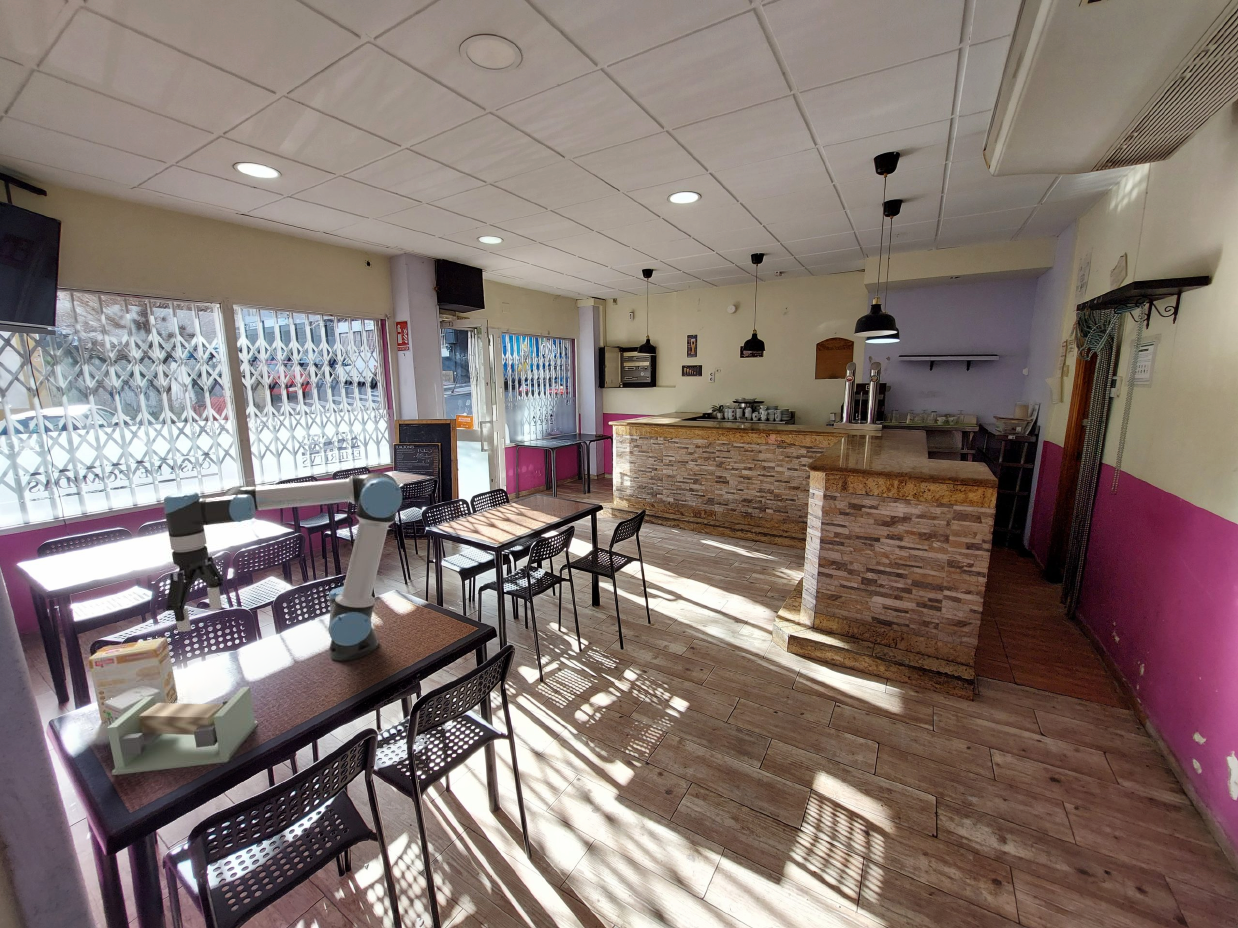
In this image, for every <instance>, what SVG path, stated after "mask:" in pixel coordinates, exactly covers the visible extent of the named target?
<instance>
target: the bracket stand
mask: <svg viewBox="0 0 1238 928" xmlns="http://www.w3.org/2000/svg"><path fill="white" fill-rule="evenodd" d="M222 704H223V705H224V706H223V707H222V709H221V710H220V711H219V712H218V713H217V714H216V715H215V716H214V723H215V725H213V726H204V727H197V728H196V729H195V730H194V735H181V734H148V733H142V729H141V724H140V718H139V715H141V714H142V713H144V712H145V711H147V710H148V709H150V708H151V707H153V706H154V705H156V704H155V699H154V696H149V697H145V698H143V699H142V700H141V701H140V702H138V703H137V704H136V705H135V706H133V707H132V708H131V709H130V710H128V711H127V712H126V713H125V714H124V715H122V716H121V717H120V718H119V719H117V720H116V721H115V722H114V723H112V724H111V725H110V726H108V727H106V730H107V735H108V739H109V745H110V750H111V753H112V758H113V764H114V769H113V770H112V771H111V775H112V776H116V775H117V776H118V775H126V774H127V775H128V774H135V773H142V772H150V771H151V772H152V771H159V770H160V771H161V770H168V769H177V768H186V767H194V766H196V767H197V766H202V765H212V764H221V763H228V761H230V759H231V758H232V756H234V754H235V753H236V751H238V749H239V748H240V747H241V746H242V744H243V743H244V742H245V741H246V740H247V738H248V737H249V736H250V734H251V733H252V732H253V731H254V729H255V728H256V727H257V726H258V724H259V723H258V721H257V720H256V719H255V713H254V704H253V700H252V693H251V686H245V687H244V686H243V687H240V688H239V690H238V691H237V692H236V693H235V694H234V695H233V696H232V697H227V698H225V699H224V700H223V701H222Z"/></svg>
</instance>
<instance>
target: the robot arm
mask: <svg viewBox="0 0 1238 928" xmlns="http://www.w3.org/2000/svg"><path fill="white" fill-rule="evenodd" d="M346 502H349V503H352V504H353V505H356V504H357V507H356V512H355V517H356V519H357V520H358V521H359V522H358V525H357V530H356V534H355V538H354V543H353V546H352V551H351V555H350V558H349V559H350V560H349V563H348V568H347V572H346V577H345V580H344V584H343V585H342V586H340V587H337V588H334V589H332V590H330V592H329V593H328V601H329V622H328V625H329V626H328V629H327V631H328V634H329V637H330V639H331V640H330V644H329V648H328V649H329V650H328V653H329V657H330V659H332V660H334V661H339V662H342V661H343V662H345V661H353V660H357V659H361V658H363V657H366V656H367V655H369V654H371V653H372V652H374V651H375V650H376V649H377V648H378V646H379V639H378V636H377V634H376V632H375V630H374V628H373V626H372V616H373V612H374V608H375V604H376V600H375V598H374V597H373V596H372V594H373V590H374V587H375V584H376V583H375V582H376V578H377V574H378V569H379V565H380V562H381V558H382V553H383V549H384V545H385V541H386V537H387V533H388V529H389V526H390V525H391V524H393V523H395V521H396V517H397V513H398V510H399V509H400V507H401V505H402V503H403V492H402V489H401V487H400V485H399V484H398V483H397V481H396V479H395V478H394V477H393V476H391V475H389V474H388V473H384V472H370V473H364V474H356V475H355V474H354V475H350V476H349V477H348V478H343V479H330V480H329V479H328V480H317V481H307V482H295V483H294V482H291V483H284V484H283V483H282V484H281V483H280V484H271V485H270V484H269V485H256V486H245V485H235V486H232V487H229V488H228V489H227V490H225V492H224V493H223V494H222V495H221V496H217V497H207V498H204V497H203V498H201V497H200V496H199V493H198V492H197V491H196V492H195V491H183V492H175V493H171V494H169V495H166V496H165V497H164V498H163V507H164V512H163V513H164V516H165V520H166V527H167V531H168V537H169V542H170V543H169V544H170V549H171V551H172V552H171V556H172V562H173V565H175V566H177V567H178V571H177V572H171V573H170V575H169V578H170V584H169V590H168V595H167V596H168V597H167V600H166V601H167V602H166V605H165V611H167V612H170V611H171V612H173V614H174V620H175V622H176V627H177V632H189V631H191V630H192V627H191V622H190V616H189V615H190V614H189V610H188V609H189V608H188V607H186V604H187V602H188V598H189V595H190V592H191V589H192V586H193V585H194V584H195V582H197V580H198V579H200V580H201V581H202V582H203V583H204V584H205V585H207V586H208V587H207V588H206V591H207V596H208V602H209V603H208V604H209V609H210V610H218V609H220V610H221V609H222V608H223V606H222V600H221V593H220V587H222V586H224V583H223V582H224V579H225V578H224V577H223V576H222V574H221V572H220V571H219V569H218V567H217V566H216V564H215V562H214V558H213V555H212V556H211V555H210V556H209V551H208V546H207V545H206V544H207V537H206V533H205V532H206V531H205V527H204V526H210V525H219V524H227V523H228V524H229V523H241V522H243V521H244V522H245V521H249V520H253V519H254V518H255V515H256V511H264V510H273V509H284V508H293V507H294V508H295V507H305V506H316V505H317V506H318V505H325V504H335V503H346Z"/></svg>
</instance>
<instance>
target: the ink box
mask: <svg viewBox="0 0 1238 928" xmlns="http://www.w3.org/2000/svg"><path fill="white" fill-rule="evenodd" d="M149 696H154V699H155V704H157V703H162V698H161V693H160V690H157V689H154V688H151V687H148V686H145V685H139V686H137V687H135V688H133V689H131V690H129V691H127V692H125V693H122V694H120V695H118V696H116V697H114V698H112V699H109V700H107V701H105V702H104V706H105V711H106V716H107V721H106V722H107V724H108V725H107V726H108V727H109V726H110V725H111V724H112V723H114V722H115V721H116V720H117V719H119V718H120V717H121V716H122V715H124V714H125V713H126V712H127V711H128V710H130V709H131V708H132V707H133V706H135V705H136V704H137V703H138V702H140V701H141V700H142V699H143V698H145V697H149Z"/></svg>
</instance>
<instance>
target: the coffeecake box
mask: <svg viewBox="0 0 1238 928" xmlns="http://www.w3.org/2000/svg"><path fill="white" fill-rule="evenodd" d="M87 660H88V664H89V670H90V674H91V675H90V676H91V680H92V683H93V689H94V693H95V698H96V702H97V707H98V712H99V717H100V718H99V719H100V721H101V723H106V722H108V721H107V716H106V711H105V706H104V702H105V701H107V700H109V699H111V698H114V697H116V696H118V695H120V694H122V693H125V692H127V691H129V690H131V689H133V688H135V687H137V686H139V685H145V686H148V687H151V688H154V689H157V690H160V693H161V698H162V703H175V700H176V699H177V698H178V691H177V687H176V685H177V684H176V680H175V675H174V669H173V664H172V663H173V662H172V657H171V653H170V648H169V643H168V637H161V638H154V639H147V640H142V641H137V642H129V643H122V644H117V645H109V646H102V648H100V649H99V650H97V652H95V653H94V654H92V655H91V656H90V657H89V658H88V659H87Z"/></svg>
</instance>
